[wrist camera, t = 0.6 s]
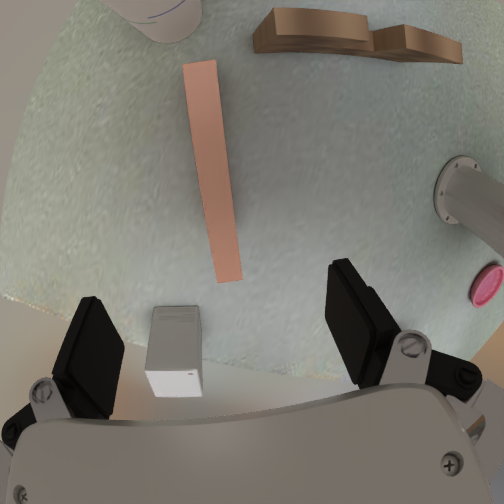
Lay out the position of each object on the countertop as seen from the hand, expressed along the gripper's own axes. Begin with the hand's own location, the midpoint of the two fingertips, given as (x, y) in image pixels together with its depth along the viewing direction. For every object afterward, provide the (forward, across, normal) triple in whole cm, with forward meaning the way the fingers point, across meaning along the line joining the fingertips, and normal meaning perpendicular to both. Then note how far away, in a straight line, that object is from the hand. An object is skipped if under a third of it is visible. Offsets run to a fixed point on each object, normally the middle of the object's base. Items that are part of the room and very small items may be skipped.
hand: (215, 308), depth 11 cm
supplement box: (+26, +10, +26) cm, 38 cm away
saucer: (+27, -60, +33) cm, 74 cm away
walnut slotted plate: (+26, -16, -13) cm, 34 cm away
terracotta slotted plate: (+26, 0, 0) cm, 26 cm away
